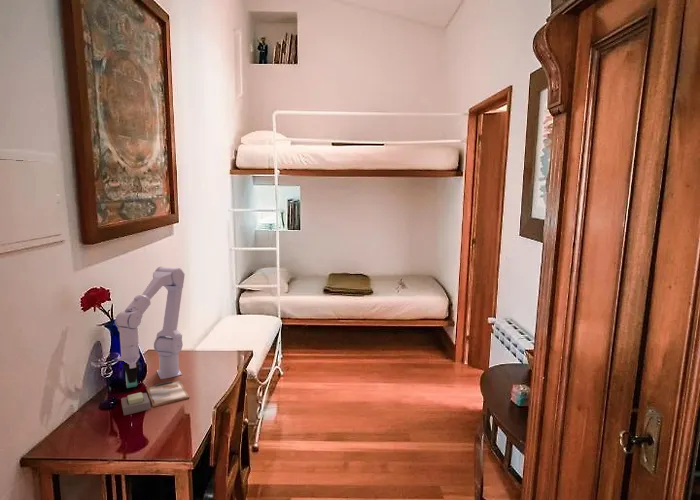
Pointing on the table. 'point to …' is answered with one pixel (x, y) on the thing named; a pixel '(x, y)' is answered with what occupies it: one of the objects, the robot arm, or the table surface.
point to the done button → (135, 398)
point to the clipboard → (166, 393)
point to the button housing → (135, 405)
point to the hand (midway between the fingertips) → (131, 380)
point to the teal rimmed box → (130, 383)
